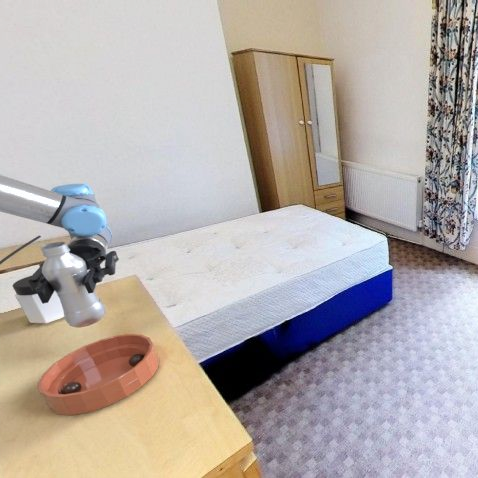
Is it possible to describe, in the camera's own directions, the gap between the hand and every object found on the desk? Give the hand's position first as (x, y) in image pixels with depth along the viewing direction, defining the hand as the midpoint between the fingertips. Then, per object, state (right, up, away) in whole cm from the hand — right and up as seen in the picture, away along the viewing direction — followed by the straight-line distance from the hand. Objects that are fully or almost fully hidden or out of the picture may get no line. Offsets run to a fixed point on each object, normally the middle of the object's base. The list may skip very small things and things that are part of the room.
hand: (66, 292), depth 67 cm
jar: (-33, -11, +26) cm, 44 cm away
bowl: (+3, -21, +6) cm, 23 cm away
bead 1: (0, -22, +2) cm, 22 cm away
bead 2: (+7, -19, +10) cm, 22 cm away
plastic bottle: (-3, -8, +8) cm, 12 cm away
